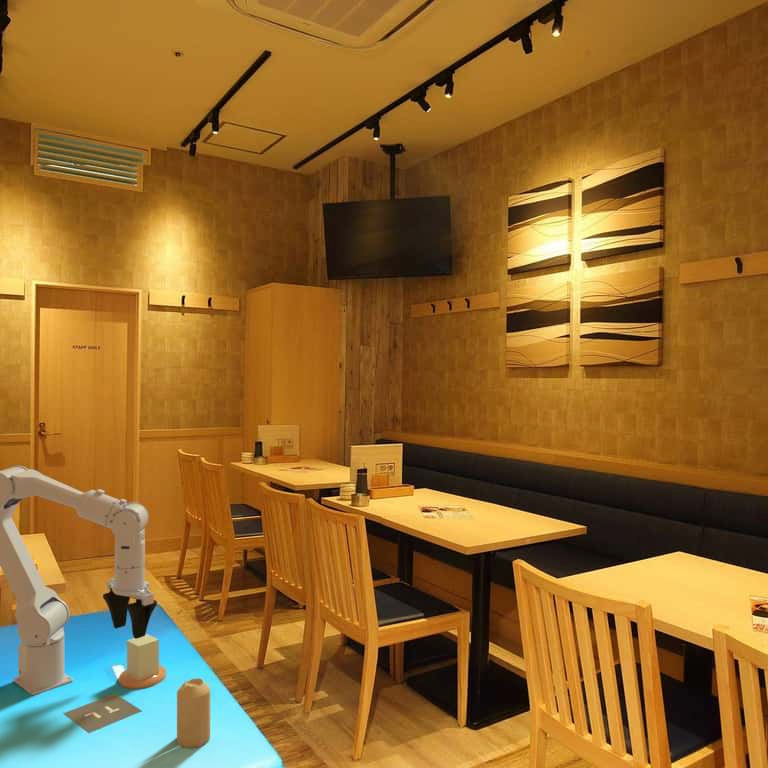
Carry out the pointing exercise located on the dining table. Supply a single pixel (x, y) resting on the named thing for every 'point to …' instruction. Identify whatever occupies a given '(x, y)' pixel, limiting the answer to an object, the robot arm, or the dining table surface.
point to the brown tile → (102, 712)
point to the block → (142, 657)
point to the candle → (193, 714)
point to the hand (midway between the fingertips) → (129, 631)
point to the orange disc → (150, 681)
